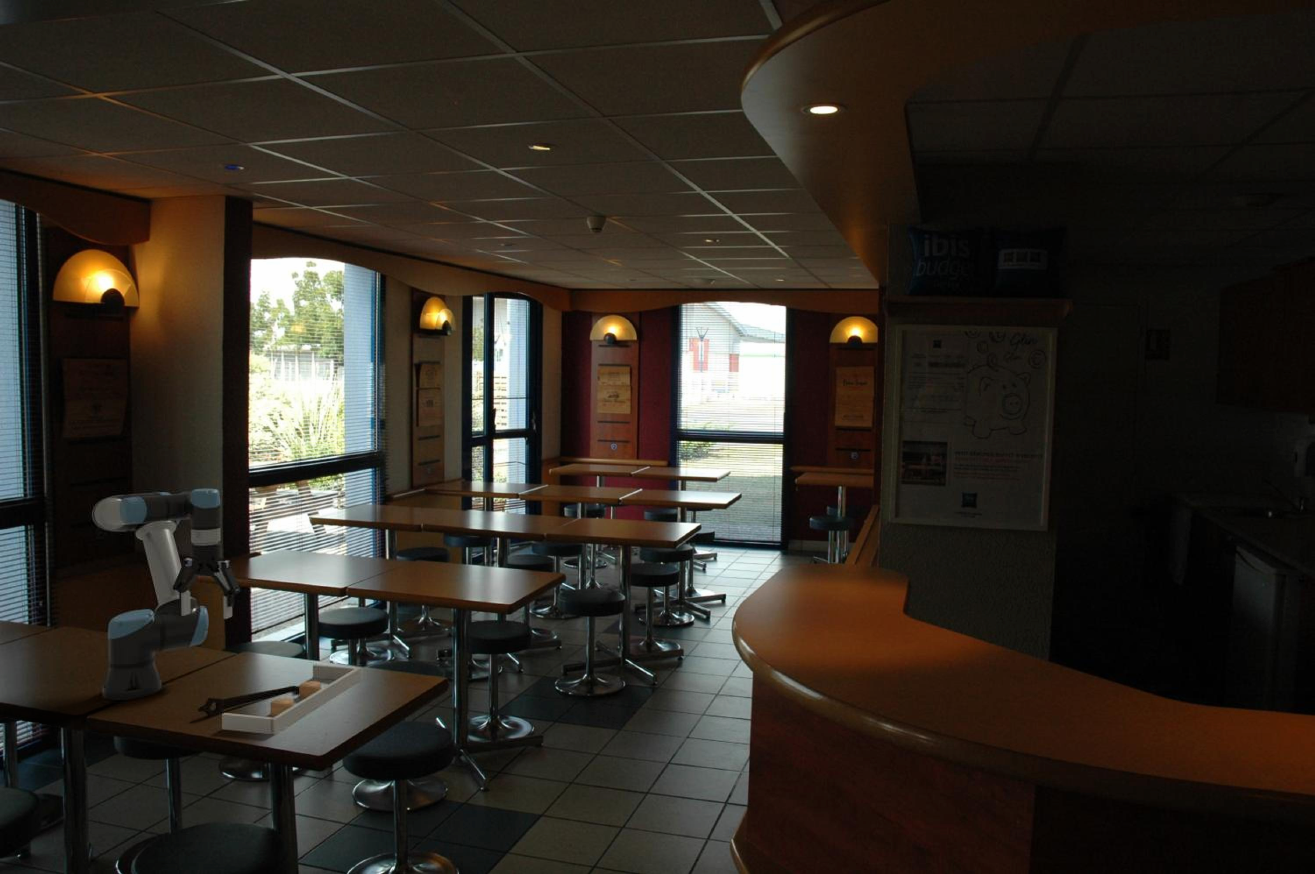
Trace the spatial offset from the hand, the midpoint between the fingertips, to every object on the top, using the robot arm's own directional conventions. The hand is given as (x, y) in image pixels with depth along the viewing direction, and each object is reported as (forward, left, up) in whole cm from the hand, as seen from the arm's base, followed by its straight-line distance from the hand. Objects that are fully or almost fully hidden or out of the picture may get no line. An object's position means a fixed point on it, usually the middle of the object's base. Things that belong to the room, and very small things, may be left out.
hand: (206, 616), depth 260 cm
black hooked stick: (+14, 0, -25) cm, 29 cm away
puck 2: (+26, +10, -25) cm, 38 cm away
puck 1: (+27, -4, -25) cm, 37 cm away
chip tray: (+26, +4, -25) cm, 36 cm away
